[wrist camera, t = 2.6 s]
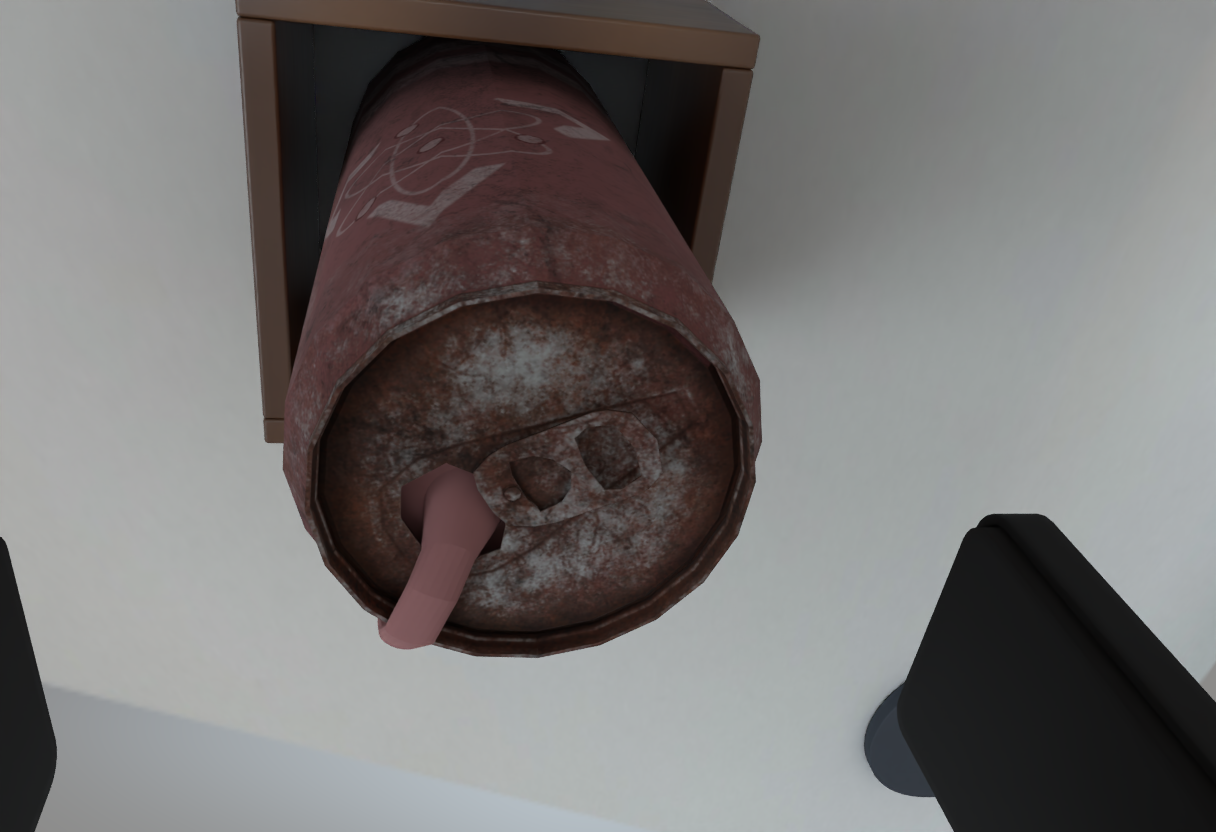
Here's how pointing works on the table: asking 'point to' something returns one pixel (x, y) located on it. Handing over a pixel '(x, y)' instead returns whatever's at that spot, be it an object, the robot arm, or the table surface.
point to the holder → (498, 13)
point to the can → (512, 368)
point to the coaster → (893, 752)
